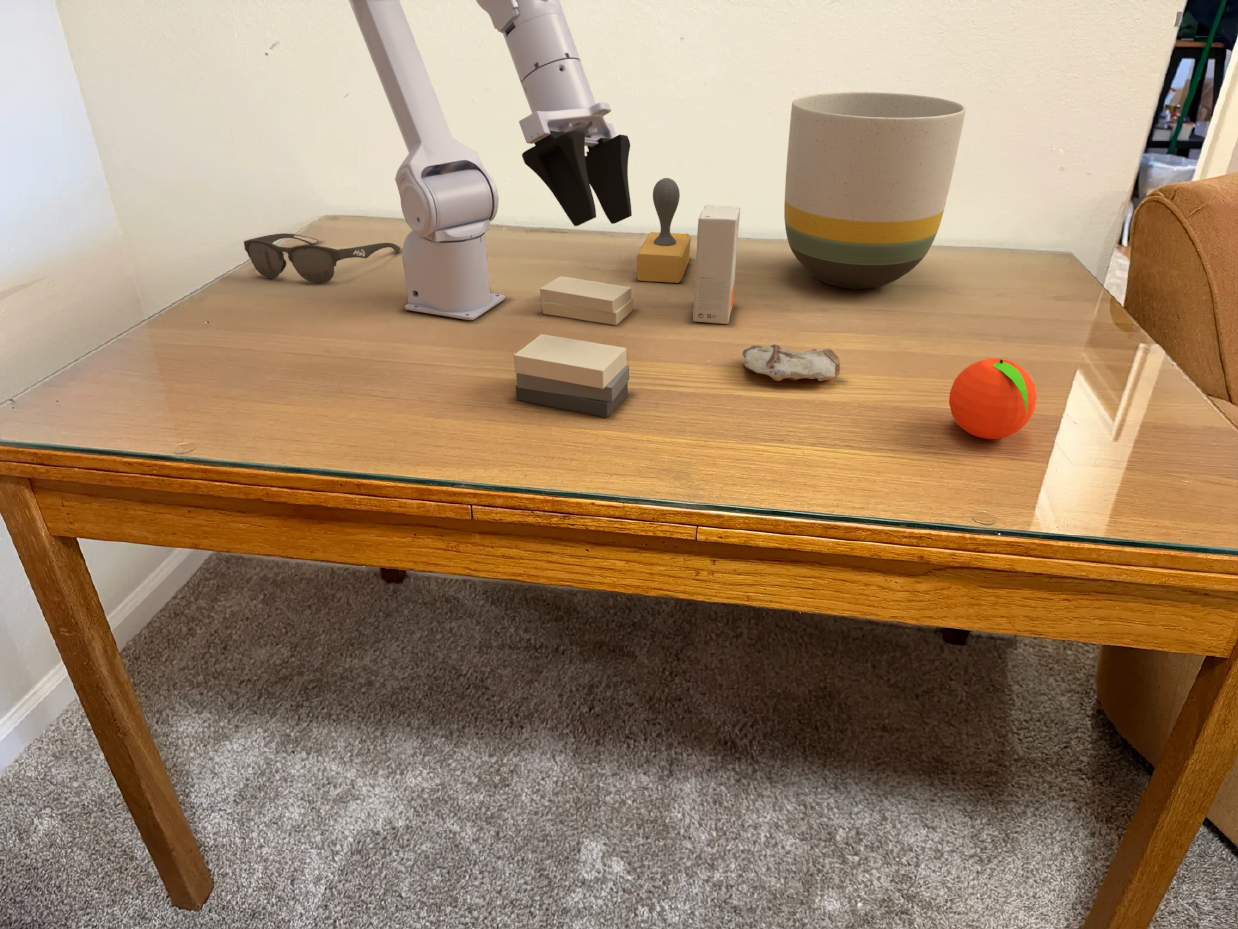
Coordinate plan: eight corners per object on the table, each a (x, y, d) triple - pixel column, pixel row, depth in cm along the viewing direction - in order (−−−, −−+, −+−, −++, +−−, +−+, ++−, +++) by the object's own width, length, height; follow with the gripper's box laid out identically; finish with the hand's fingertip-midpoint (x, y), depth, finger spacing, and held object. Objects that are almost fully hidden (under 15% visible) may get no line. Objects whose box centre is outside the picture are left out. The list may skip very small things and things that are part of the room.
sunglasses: (233, 276, 111) (227, 238, 109) (311, 253, 126) (306, 219, 124) (343, 288, 107) (338, 248, 105) (410, 263, 122) (407, 228, 120)
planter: (866, 320, 98) (897, 124, 87) (744, 277, 111) (757, 102, 100) (961, 284, 108) (1000, 105, 97) (839, 249, 121) (861, 87, 110)
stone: (742, 388, 83) (744, 363, 81) (740, 357, 89) (742, 333, 88) (841, 392, 82) (845, 367, 81) (833, 360, 88) (836, 337, 87)
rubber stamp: (680, 283, 109) (683, 188, 103) (636, 280, 110) (637, 186, 104) (690, 260, 117) (693, 170, 111) (648, 257, 118) (650, 168, 112)
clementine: (1050, 455, 72) (1073, 379, 68) (976, 464, 70) (996, 387, 67) (995, 412, 78) (1014, 340, 75) (927, 419, 77) (942, 347, 73)
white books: (539, 314, 100) (537, 289, 98) (559, 299, 104) (558, 275, 103) (615, 326, 97) (615, 301, 95) (633, 310, 101) (633, 285, 99)
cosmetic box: (729, 325, 97) (736, 220, 90) (692, 322, 97) (696, 218, 91) (733, 306, 102) (741, 205, 96) (698, 304, 103) (703, 203, 96)
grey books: (514, 401, 81) (512, 372, 79) (541, 377, 85) (540, 350, 83) (609, 420, 77) (609, 390, 76) (632, 394, 82) (632, 366, 80)
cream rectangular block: (515, 372, 79) (513, 355, 78) (542, 350, 83) (541, 333, 82) (603, 389, 76) (602, 370, 75) (626, 365, 80) (626, 347, 79)
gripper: (546, 39, 68) (606, 203, 69) (622, 64, 80) (671, 202, 82) (480, 80, 71) (538, 236, 73) (562, 98, 84) (610, 230, 85)
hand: (604, 220), depth 78 cm, fingers open, 7 cm apart
